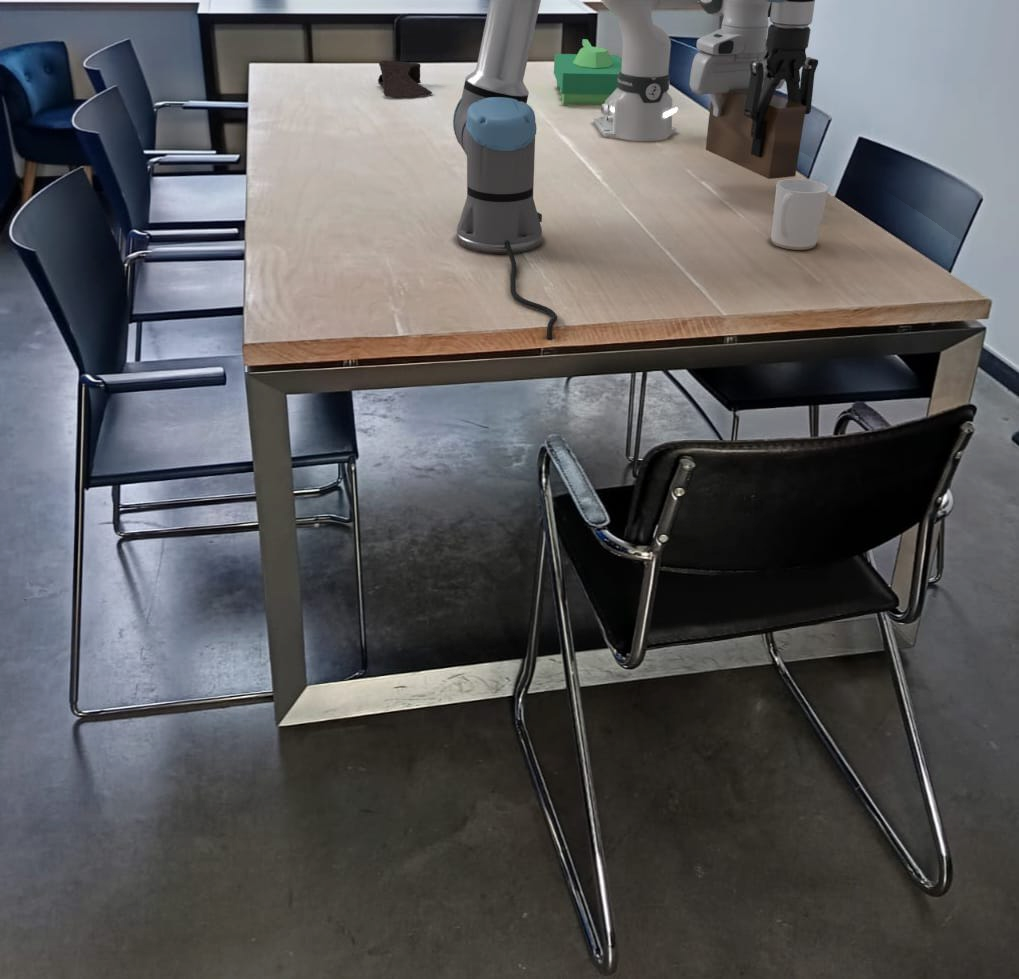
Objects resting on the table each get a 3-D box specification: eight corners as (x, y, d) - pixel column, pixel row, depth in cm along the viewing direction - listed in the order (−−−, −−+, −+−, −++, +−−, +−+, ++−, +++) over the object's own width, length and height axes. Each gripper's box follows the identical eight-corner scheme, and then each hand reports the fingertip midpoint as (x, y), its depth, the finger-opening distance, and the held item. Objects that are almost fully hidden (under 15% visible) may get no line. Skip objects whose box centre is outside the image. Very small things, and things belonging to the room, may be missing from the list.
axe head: (443, 87, 294) (392, 77, 287) (436, 115, 299) (385, 106, 292) (421, 62, 307) (371, 52, 300) (414, 89, 311) (365, 80, 304)
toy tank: (614, 36, 311) (632, 59, 281) (611, 81, 317) (628, 108, 287) (553, 34, 310) (563, 57, 280) (550, 80, 316) (561, 107, 286)
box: (795, 176, 210) (806, 106, 203) (768, 179, 208) (778, 108, 201) (730, 147, 228) (738, 81, 221) (705, 149, 225) (712, 83, 219)
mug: (782, 231, 203) (791, 175, 197) (827, 242, 198) (837, 185, 193) (753, 245, 196) (761, 188, 190) (799, 257, 191) (809, 198, 185)
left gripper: (820, 19, 204) (800, 145, 216) (733, 23, 198) (718, 153, 210) (845, 25, 198) (824, 154, 211) (757, 30, 192) (740, 163, 204)
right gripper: (778, 35, 218) (768, 107, 225) (689, 40, 211) (682, 114, 218) (797, 40, 213) (786, 114, 220) (706, 46, 206) (698, 121, 213)
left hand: (771, 153), depth 210 cm, fingers closed on box, 6 cm apart
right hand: (733, 114), depth 219 cm, fingers closed on box, 6 cm apart
